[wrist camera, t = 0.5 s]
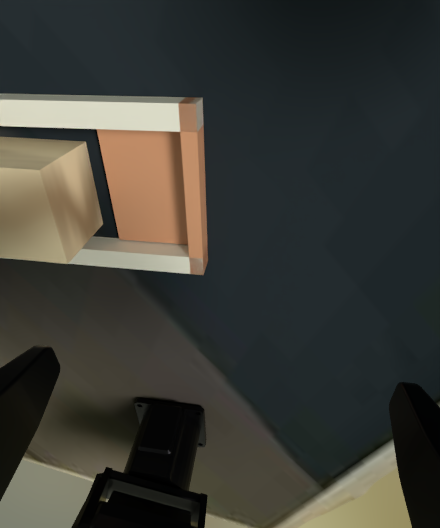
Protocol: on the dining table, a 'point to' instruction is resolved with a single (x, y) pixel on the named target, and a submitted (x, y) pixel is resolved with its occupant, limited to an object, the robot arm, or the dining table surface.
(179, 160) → the channel
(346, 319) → the dining table surface
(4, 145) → the maple block
